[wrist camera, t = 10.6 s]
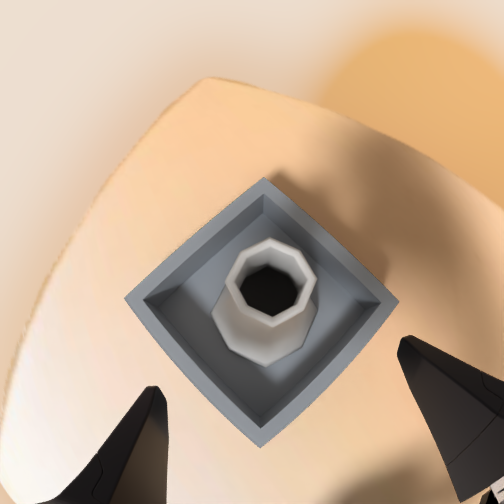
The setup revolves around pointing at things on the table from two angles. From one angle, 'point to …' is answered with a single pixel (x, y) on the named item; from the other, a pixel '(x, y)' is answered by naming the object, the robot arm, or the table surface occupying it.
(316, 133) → the table surface
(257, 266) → the flask
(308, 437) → the table surface
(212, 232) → the tray
